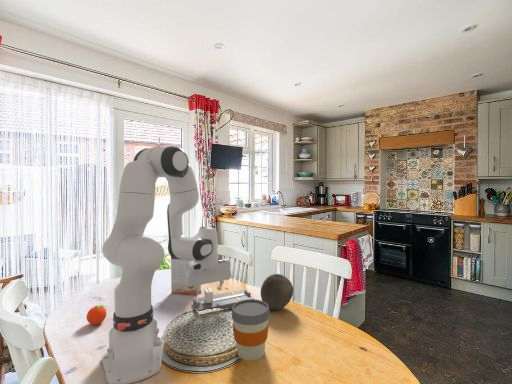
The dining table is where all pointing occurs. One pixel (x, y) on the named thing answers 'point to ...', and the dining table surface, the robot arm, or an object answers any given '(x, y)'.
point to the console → (222, 300)
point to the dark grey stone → (276, 291)
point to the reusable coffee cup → (250, 328)
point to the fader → (208, 295)
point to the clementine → (96, 314)
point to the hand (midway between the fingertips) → (209, 291)
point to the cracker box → (181, 277)
